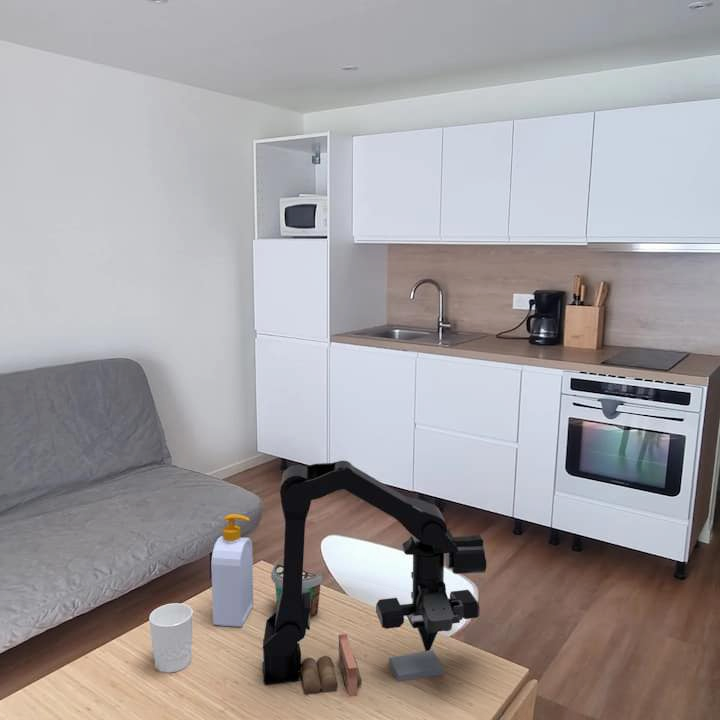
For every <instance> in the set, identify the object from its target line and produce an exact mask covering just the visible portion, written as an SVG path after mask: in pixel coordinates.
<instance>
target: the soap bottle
mask: <svg viewBox="0 0 720 720" xmlns="http://www.w3.org/2000/svg"><path fill="white" fill-rule="evenodd" d="M236 520H242V521H244V522H249V521H250V518H249V517H247V516H245V515H242V514H237V513H231V514H226V516H225V517H224V518H223V519H222V521H223V522H225V521H227V522H228V525H227V526H224V527H223V528H222V534H223V535H221V536H220V537H219V538H217V540H216V542H215V543H214V547H213V550H212V554H211V563H210V566H211V595H212V596H211V599H212V600H211V601H212V624H213V626H223V627H224V626H225V627H235V628H236V627H238V628H242V627H243V626H244V624H245V622H246V620H247V619H248V616H249V614H250V613H251V611H252V609H253V606H254V580H253V579H254V576H253V575H254V574H253V572H254V569H253V568H254V566H253V543H252V540H251V538H249V537H241V527H240V526H238V525H235V524H236V523H235V521H236Z"/></svg>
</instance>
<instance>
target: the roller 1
mask: <svg viewBox="0 0 720 720" xmlns="http://www.w3.org/2000/svg"><path fill="white" fill-rule="evenodd" d="M301 675H302V682H303V689H304V692H305V693H306V694H307V695H308V696H309V695H316V694H318V693H320V691H321V690H322V689H321V683H320V678H319V672H318V667H317V660H316V659H315V658H313V657H307V658H305V659H303V660H301Z"/></svg>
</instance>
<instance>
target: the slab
mask: <svg viewBox="0 0 720 720" xmlns="http://www.w3.org/2000/svg"><path fill="white" fill-rule="evenodd" d="M388 665H389V668H391V671H392V673H393V674H394V677H395V679H396V681H397V682H398V683H399V684H400V683H403V682H404V683H405V682H409V681H413V680H419V679H425V678H431V677H435V676H436V677H437V676H442V675H445V667H444V665H443V663H442V662H441V660H440V659H439V657H438V656H437V654H436V652H435V651H434V649H430V651H425V650H424V651H419V652H415V653H407V654H403V655H397V656H391V657H388Z"/></svg>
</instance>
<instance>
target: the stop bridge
mask: <svg viewBox="0 0 720 720" xmlns="http://www.w3.org/2000/svg"><path fill="white" fill-rule="evenodd" d="M353 655H354V654H353V650H352V648H351V644H350V641H349V637H348V634H347V633H343V634H342V633H341V634H338V663H339V665H340V657H341V656H342V658H343V661H344V665H345V668H346V672H347V686H346V692H347V695H348V697H353V696H358V688H357V666H358V665H357V666H356V663H357V662H356V663H355V660H356V658H355V659H354V657H355V655H354V656H353Z"/></svg>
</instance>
